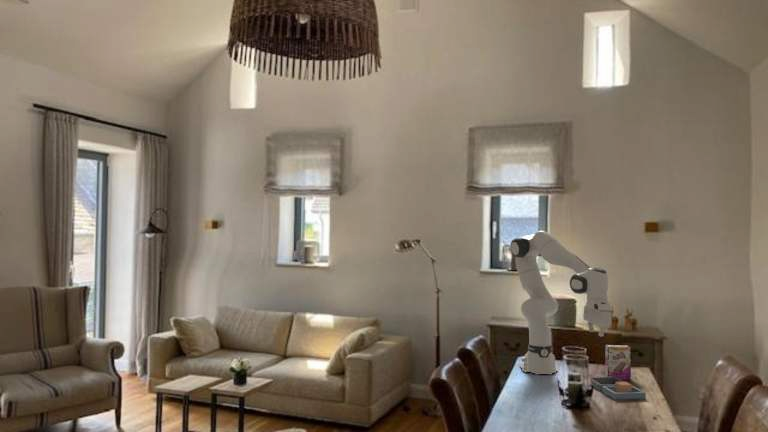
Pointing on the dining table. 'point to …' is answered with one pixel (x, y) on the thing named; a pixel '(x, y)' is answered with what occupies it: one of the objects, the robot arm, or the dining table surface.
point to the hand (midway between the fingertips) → (596, 333)
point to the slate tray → (624, 394)
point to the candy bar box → (618, 361)
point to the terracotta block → (622, 387)
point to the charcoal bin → (603, 382)
